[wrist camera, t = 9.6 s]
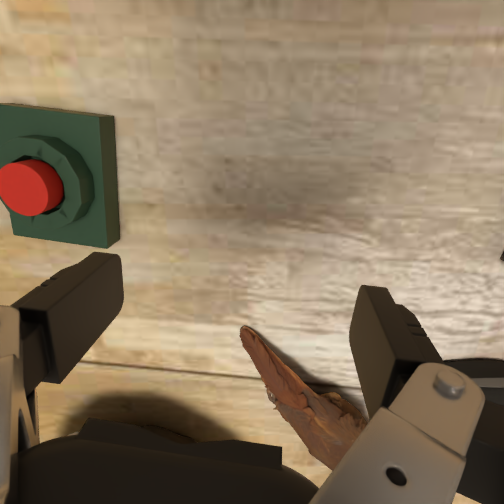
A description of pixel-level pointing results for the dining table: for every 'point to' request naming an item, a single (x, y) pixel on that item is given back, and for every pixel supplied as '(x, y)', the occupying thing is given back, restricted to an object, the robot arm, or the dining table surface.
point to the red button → (30, 187)
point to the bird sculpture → (306, 405)
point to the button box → (66, 171)
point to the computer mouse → (484, 376)
